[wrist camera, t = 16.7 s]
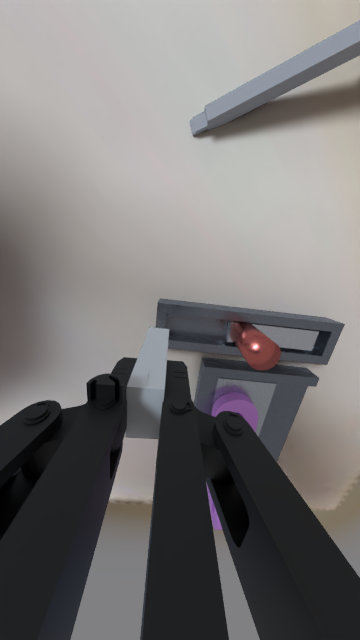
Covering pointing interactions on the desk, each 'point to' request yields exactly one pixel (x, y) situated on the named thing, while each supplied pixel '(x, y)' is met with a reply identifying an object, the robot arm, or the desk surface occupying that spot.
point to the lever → (267, 341)
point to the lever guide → (212, 320)
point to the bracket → (245, 409)
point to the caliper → (281, 79)
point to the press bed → (257, 394)
